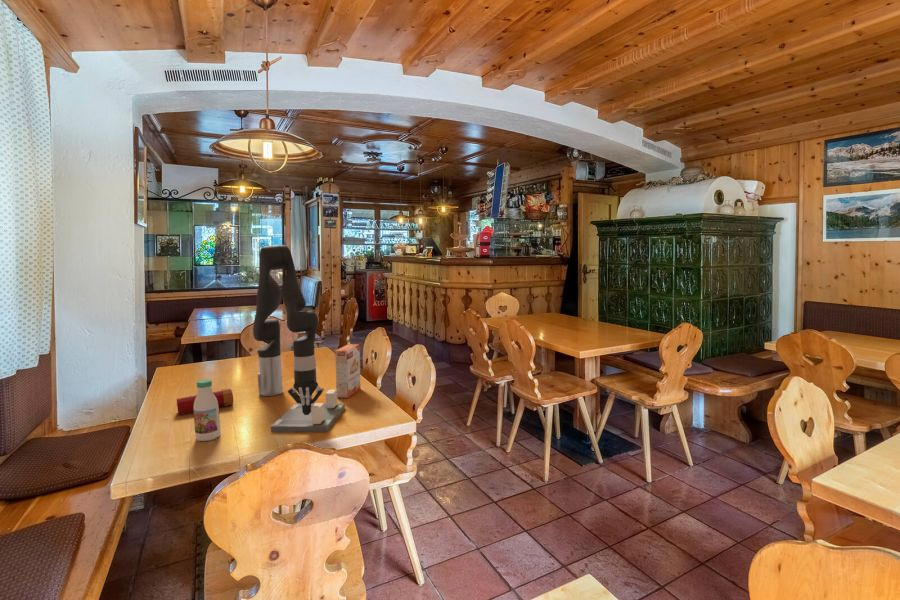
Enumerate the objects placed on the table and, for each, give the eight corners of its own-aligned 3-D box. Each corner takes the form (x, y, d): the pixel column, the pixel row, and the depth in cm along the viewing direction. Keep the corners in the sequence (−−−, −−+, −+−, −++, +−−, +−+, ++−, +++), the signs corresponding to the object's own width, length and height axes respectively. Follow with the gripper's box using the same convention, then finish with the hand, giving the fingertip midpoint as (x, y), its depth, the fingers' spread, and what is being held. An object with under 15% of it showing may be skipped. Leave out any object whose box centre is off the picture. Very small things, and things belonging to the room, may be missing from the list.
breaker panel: (271, 431, 168) (270, 426, 168) (295, 408, 192) (295, 403, 192) (326, 432, 167) (326, 426, 167) (344, 408, 191) (344, 403, 191)
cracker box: (349, 398, 203) (347, 350, 200) (336, 398, 204) (334, 350, 202) (361, 388, 217) (360, 343, 214) (349, 388, 218) (347, 343, 215)
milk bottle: (201, 433, 168) (197, 378, 165) (224, 432, 169) (220, 377, 166) (191, 442, 160) (186, 384, 158) (215, 441, 161) (211, 384, 158)
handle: (326, 408, 185) (325, 393, 184) (330, 403, 190) (329, 389, 189) (333, 408, 185) (333, 393, 184) (337, 403, 190) (336, 389, 189)
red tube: (234, 407, 195) (233, 390, 194) (178, 417, 184) (177, 399, 184) (231, 402, 201) (230, 386, 200) (177, 412, 190) (176, 395, 189)
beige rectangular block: (311, 423, 169) (311, 407, 168) (316, 418, 174) (315, 403, 173) (320, 423, 169) (319, 407, 168) (324, 418, 174) (323, 403, 173)
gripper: (282, 370, 166) (285, 418, 168) (319, 370, 165) (322, 418, 167) (290, 364, 173) (293, 410, 175) (326, 364, 172) (328, 410, 174)
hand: (307, 414), depth 171 cm, fingers closed
